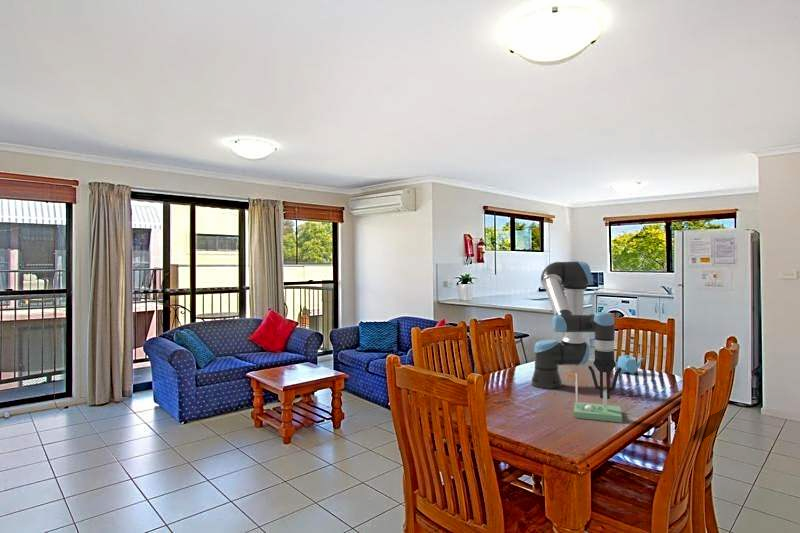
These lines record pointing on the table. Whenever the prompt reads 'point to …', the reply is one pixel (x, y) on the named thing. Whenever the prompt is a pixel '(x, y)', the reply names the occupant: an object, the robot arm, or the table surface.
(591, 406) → the ball
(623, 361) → the teapot
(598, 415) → the green
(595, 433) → the table surface
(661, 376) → the table surface
